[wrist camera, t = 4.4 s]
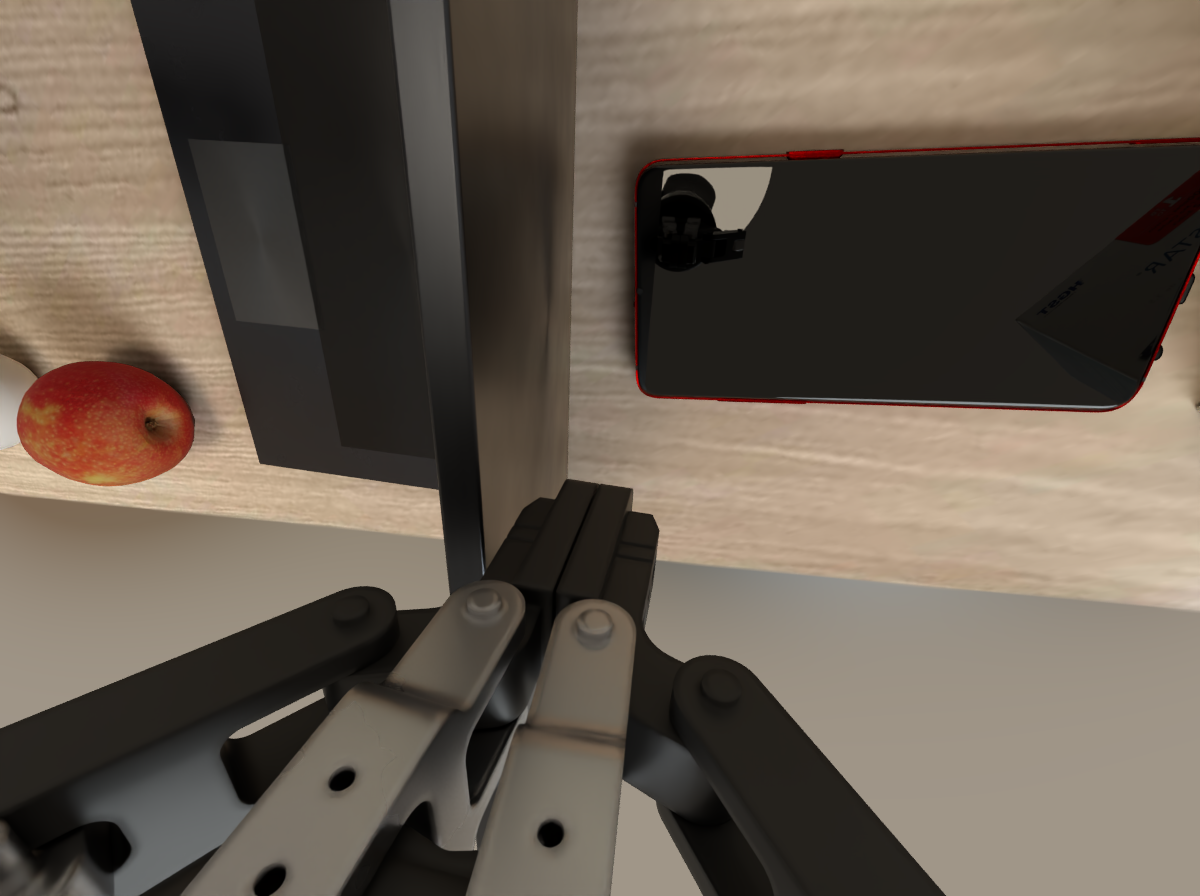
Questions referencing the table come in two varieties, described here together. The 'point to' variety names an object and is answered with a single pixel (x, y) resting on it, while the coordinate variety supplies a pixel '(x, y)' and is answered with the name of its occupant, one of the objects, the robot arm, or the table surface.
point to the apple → (104, 423)
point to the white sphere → (12, 398)
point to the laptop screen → (490, 253)
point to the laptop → (302, 223)
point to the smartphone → (915, 275)
